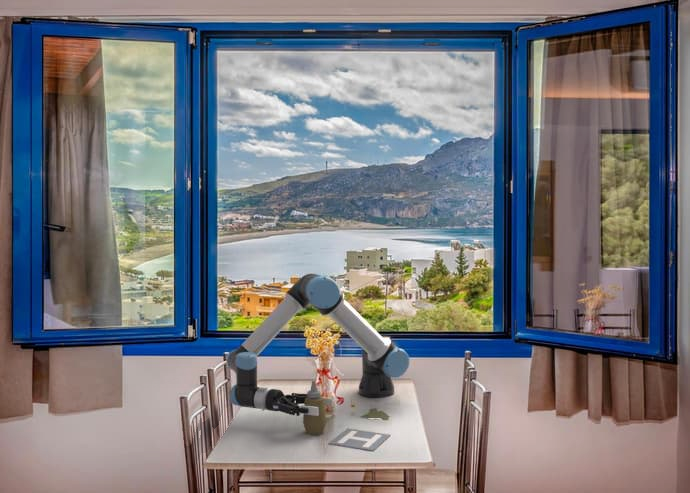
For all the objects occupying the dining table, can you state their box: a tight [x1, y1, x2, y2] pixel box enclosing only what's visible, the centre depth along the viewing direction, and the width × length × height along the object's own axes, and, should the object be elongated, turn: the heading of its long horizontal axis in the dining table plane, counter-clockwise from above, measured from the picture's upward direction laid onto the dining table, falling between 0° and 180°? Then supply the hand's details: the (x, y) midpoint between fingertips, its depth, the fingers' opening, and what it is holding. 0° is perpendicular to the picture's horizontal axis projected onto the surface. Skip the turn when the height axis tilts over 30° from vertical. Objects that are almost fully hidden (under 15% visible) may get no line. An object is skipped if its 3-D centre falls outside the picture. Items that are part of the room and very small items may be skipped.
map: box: [360, 407, 391, 421], centre depth 222 cm, size 11×18×1 cm, turn 15°
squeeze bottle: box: [302, 380, 327, 436], centre depth 207 cm, size 8×8×18 cm
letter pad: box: [328, 427, 391, 452], centre depth 200 cm, size 15×16×1 cm
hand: (325, 406), depth 205 cm, fingers open, 10 cm apart
